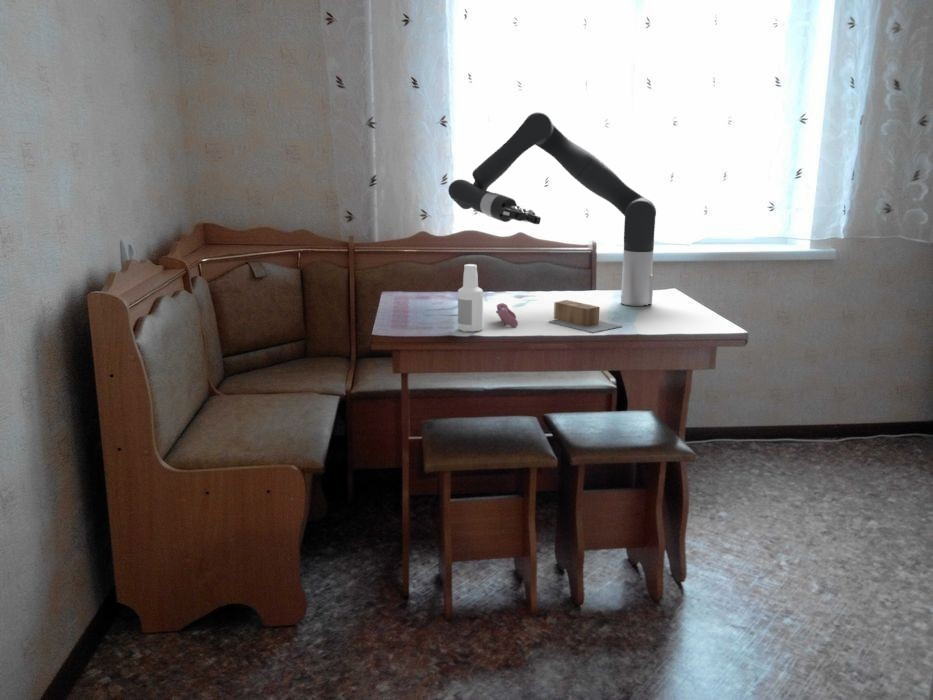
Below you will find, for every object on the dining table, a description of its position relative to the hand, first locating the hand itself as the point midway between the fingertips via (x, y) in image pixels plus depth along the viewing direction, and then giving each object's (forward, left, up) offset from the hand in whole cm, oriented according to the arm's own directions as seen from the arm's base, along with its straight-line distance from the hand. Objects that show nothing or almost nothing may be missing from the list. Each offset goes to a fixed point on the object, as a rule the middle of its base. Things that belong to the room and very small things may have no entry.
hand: (538, 220), depth 235 cm
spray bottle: (+22, +22, -28) cm, 42 cm away
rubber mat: (-11, +17, -28) cm, 35 cm away
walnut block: (-6, +9, -25) cm, 27 cm away
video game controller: (+11, +15, -28) cm, 33 cm away
